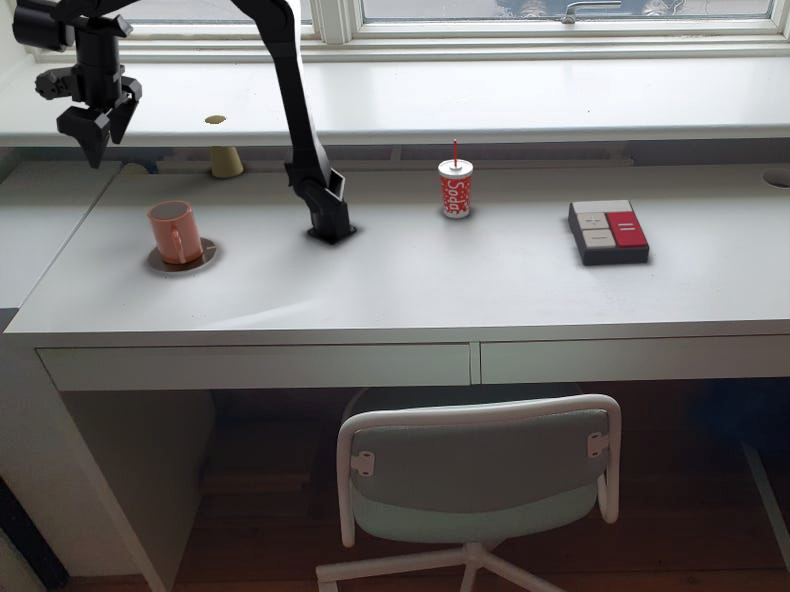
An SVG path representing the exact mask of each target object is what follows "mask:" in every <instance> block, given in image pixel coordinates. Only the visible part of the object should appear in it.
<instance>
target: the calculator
mask: <svg viewBox="0 0 790 592" xmlns="http://www.w3.org/2000/svg"><path fill="white" fill-rule="evenodd" d="M567 222H568V225H569V228H570V231H572V235H573V237H574V240H575V244H576V248H577V249H578V254H579V257H580V259H581V263H582V264H583V266H595V265H599V266H600V265H620V264H621V265H622V264H640V263H641V264H643V263H647V262H648V259H649V254H650V248H651V247H650V244H649V242H648V240H647V237H646V235H645V233H644V231H643V229H642V226H641V224H640V221H639V219H638V217H637V214H636V213H635V210H634V208H633V206H632V203H631V201H630V200H628V199H619V200H617V199H616V200H615V199H613V200H590V201H573V202H570V203H569V206H568V216H567Z"/></svg>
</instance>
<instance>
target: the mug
mask: <svg viewBox="0 0 790 592" xmlns="http://www.w3.org/2000/svg"><path fill="white" fill-rule="evenodd" d="M146 216H147V219H148V222H149V225H150V228H151V231H152V234H153V238H154V240H155V243H156V247H158V250H159V253H160V256H161V258H162V260H163V261H165V262H167V263H171V264H182V263H187V262H190V261H193V260H195V259H196V258H198V257H199V256H200V255H201V254H202V252H203V246H202V243H201V239H200V237H201V235H200V233H199V229H198V225H197V222H196V218H195V215H194V211H193V208H192V205H191V204H190V203H189V202H187V201H184V200H175V199H174V200H167V201H163V202H160V203H156V204H155V205H152V206H151V207H150V208H149V209H148V210H147V213H146Z"/></svg>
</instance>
